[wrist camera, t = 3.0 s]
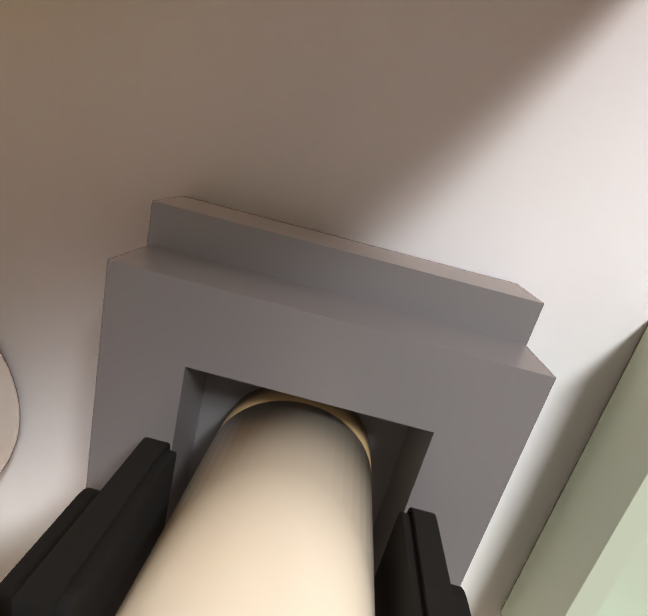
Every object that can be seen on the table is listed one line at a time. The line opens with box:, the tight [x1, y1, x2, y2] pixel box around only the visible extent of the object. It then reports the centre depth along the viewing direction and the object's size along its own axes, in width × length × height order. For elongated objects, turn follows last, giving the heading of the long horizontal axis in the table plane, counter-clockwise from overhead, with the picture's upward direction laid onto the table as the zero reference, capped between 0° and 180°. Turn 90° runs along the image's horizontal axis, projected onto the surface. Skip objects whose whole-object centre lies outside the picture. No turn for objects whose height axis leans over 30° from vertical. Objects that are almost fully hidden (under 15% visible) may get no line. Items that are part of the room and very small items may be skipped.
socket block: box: [86, 196, 556, 586], centre depth 13 cm, size 12×10×4 cm
